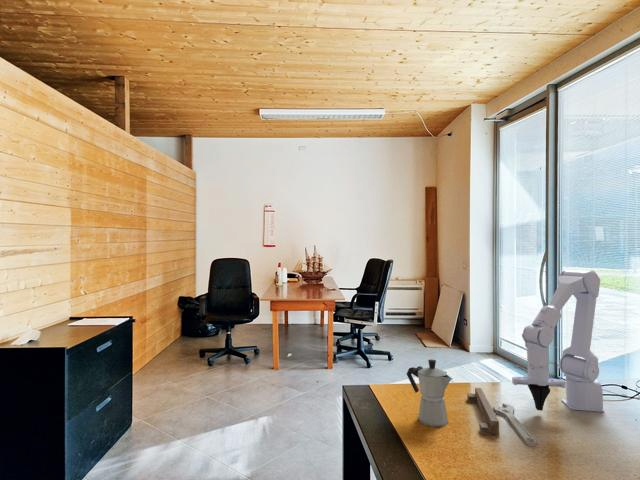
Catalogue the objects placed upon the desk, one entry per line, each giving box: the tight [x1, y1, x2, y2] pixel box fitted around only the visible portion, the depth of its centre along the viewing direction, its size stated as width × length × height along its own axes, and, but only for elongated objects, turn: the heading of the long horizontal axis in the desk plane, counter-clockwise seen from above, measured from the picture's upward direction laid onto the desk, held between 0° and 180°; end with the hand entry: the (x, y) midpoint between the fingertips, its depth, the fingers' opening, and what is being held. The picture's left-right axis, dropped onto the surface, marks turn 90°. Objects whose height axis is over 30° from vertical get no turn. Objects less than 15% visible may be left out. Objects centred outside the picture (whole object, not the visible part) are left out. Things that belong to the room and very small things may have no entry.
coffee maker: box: [406, 359, 453, 428], centre depth 117 cm, size 15×9×18 cm, turn 47°
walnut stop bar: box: [466, 387, 500, 437], centre depth 120 cm, size 4×26×4 cm, turn 167°
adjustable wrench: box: [492, 402, 537, 447], centre depth 114 cm, size 25×6×2 cm, turn 168°
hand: (539, 409), depth 120 cm, fingers closed
